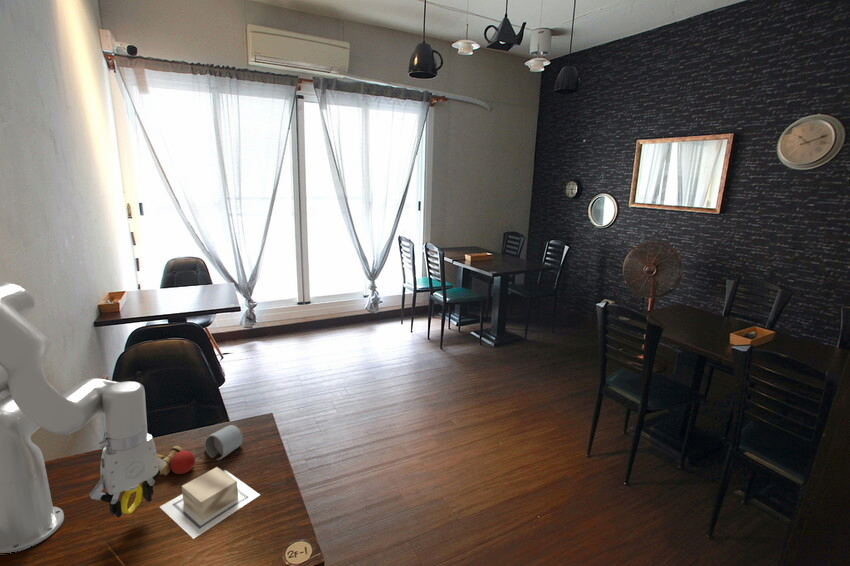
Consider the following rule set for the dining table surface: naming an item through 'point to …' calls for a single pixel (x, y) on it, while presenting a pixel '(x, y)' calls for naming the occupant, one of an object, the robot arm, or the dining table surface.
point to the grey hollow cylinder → (223, 441)
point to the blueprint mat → (198, 526)
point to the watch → (137, 500)
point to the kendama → (177, 461)
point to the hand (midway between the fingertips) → (132, 505)
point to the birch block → (209, 492)
